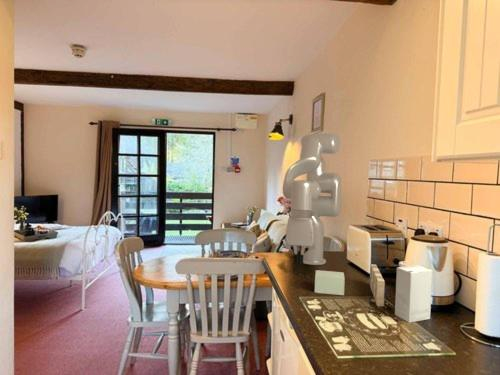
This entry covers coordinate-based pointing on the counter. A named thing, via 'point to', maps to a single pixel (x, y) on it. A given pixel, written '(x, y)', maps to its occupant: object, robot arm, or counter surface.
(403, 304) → the skincare box
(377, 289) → the birch board
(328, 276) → the sage block
